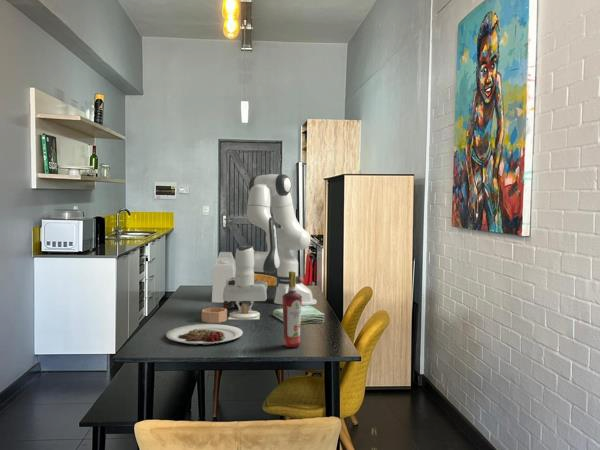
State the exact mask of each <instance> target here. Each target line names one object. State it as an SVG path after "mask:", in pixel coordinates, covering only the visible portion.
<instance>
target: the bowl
mask: <svg viewBox="0 0 600 450" xmlns="http://www.w3.org/2000/svg"><path fill="white" fill-rule="evenodd" d="M227 320H228V308H226V309H225V308H223V307H207V308H203V309H202V310H201V322H203V323H206V324H211V323H212V324H216V323H217V324H218V323H222V322H227Z"/></svg>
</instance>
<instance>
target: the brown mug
mask: <svg viewBox="0 0 600 450" xmlns="http://www.w3.org/2000/svg"><path fill="white" fill-rule="evenodd" d="M227 302H228V303H227ZM242 304H244V303H243V301H239V305H240V306H242ZM222 306H223V307H222V308H225V309H229V308H233V306H234V308H239V307H238V306H237V304H236V301H230V302H229V301H224V302H223V303H222Z"/></svg>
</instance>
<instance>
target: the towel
mask: <svg viewBox="0 0 600 450" xmlns="http://www.w3.org/2000/svg"><path fill="white" fill-rule="evenodd" d="M272 316H273V317H275V318H277V319H279V320H280V321H281V322H283V308H277V309H274V310H273V311H272ZM324 322H325V313H324V312H321V311H320V310H318V308H316V307H314V306H312V305H302V307H301V322H300V325H306V324H307V325H308V324H316V323H317V324H321V323H324Z"/></svg>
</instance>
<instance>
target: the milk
mask: <svg viewBox="0 0 600 450" xmlns="http://www.w3.org/2000/svg"><path fill="white" fill-rule="evenodd" d="M234 257H235V256H233V253H232V252H231V251H220V252H219V254H218V257H217V259H216V260H215V263H214V266H213V277H212V289H211V290H212V291H211V292H212V295H211V303H222V304H223V302H224V300H223V291H224V288H225V286H226V280H227V279H230V278H233V277H235V273H236V266H235V258H234ZM229 302H230V301H229ZM227 303H228V302H227Z"/></svg>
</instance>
